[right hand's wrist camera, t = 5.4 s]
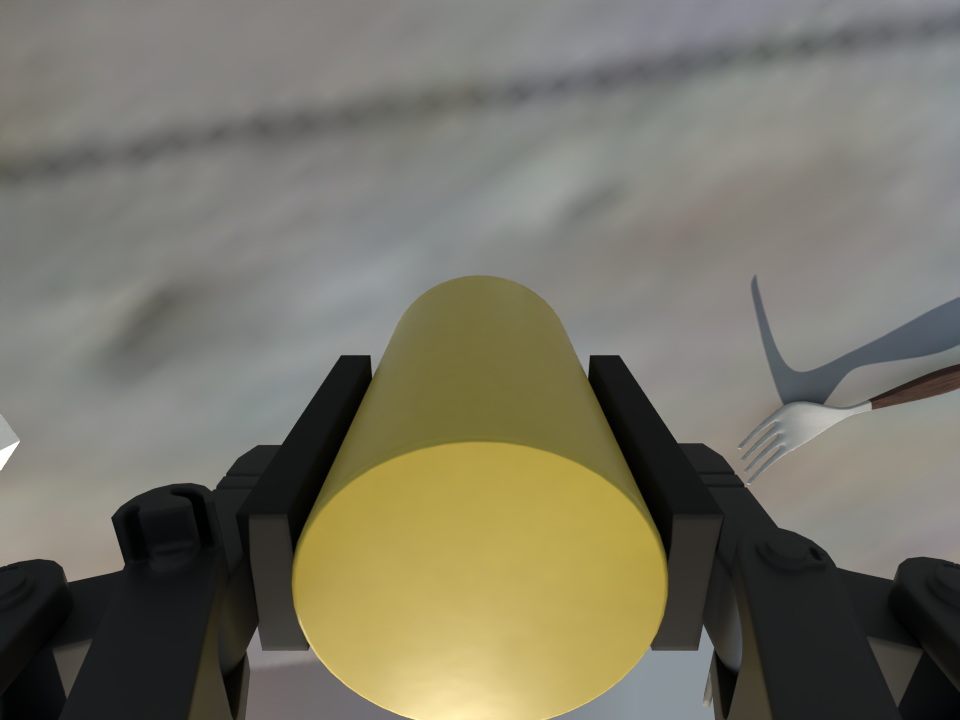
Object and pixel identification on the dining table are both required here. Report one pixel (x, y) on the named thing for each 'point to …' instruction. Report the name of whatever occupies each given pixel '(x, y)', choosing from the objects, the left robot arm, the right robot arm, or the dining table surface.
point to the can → (480, 523)
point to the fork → (838, 414)
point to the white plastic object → (6, 441)
